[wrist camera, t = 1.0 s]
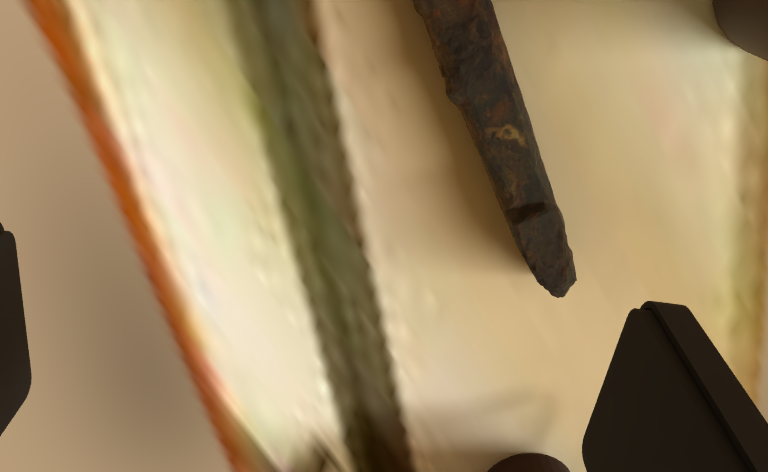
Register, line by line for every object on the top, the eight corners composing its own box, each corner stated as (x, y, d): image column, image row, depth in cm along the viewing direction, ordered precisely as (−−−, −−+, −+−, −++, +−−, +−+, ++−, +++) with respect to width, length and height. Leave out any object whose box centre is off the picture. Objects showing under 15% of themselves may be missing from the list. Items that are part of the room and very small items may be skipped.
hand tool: (391, -38, 33) (392, -27, 29) (472, -71, 32) (485, -64, 28) (504, 285, 41) (518, 331, 37) (571, 264, 40) (593, 308, 36)
